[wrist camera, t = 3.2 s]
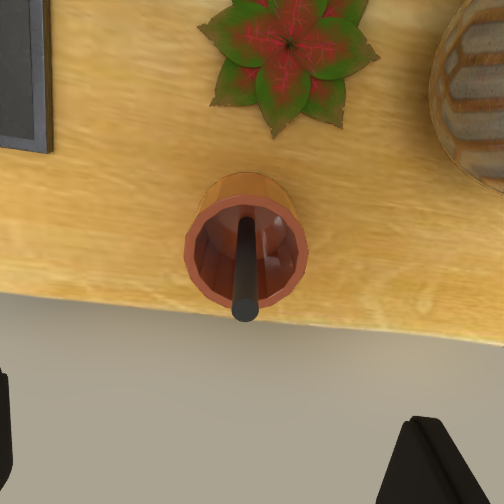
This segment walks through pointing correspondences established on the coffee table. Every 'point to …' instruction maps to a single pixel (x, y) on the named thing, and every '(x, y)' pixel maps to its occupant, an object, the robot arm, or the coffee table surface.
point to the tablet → (25, 76)
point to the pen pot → (225, 239)
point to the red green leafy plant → (289, 56)
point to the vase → (471, 92)
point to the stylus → (245, 273)
